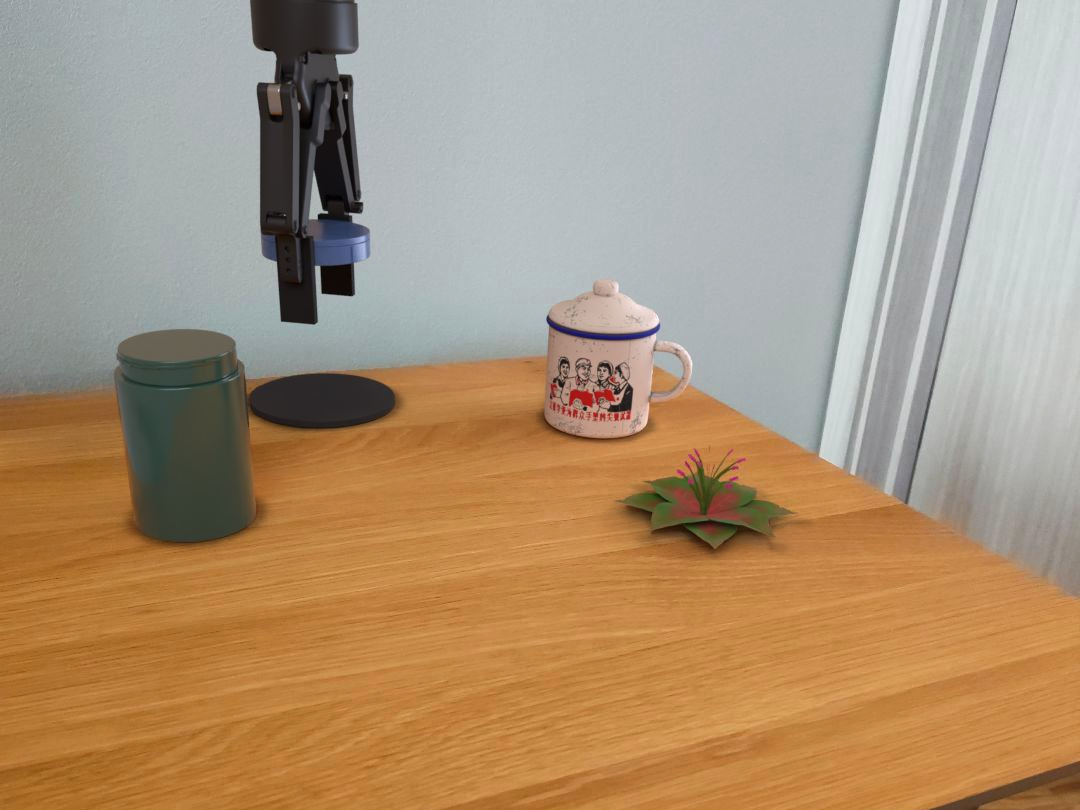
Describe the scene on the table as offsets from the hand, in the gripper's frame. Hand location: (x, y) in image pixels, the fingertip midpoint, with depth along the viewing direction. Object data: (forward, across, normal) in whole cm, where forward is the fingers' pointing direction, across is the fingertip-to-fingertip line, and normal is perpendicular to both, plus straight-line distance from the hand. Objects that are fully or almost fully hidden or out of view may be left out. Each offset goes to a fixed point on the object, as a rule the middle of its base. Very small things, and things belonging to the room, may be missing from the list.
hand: (319, 307), depth 85 cm
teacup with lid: (+8, +2, -24) cm, 26 cm away
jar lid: (-6, 0, 0) cm, 6 cm away
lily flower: (+9, -14, -32) cm, 36 cm away
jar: (+8, -23, +1) cm, 24 cm away
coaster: (+8, 0, 0) cm, 8 cm away
